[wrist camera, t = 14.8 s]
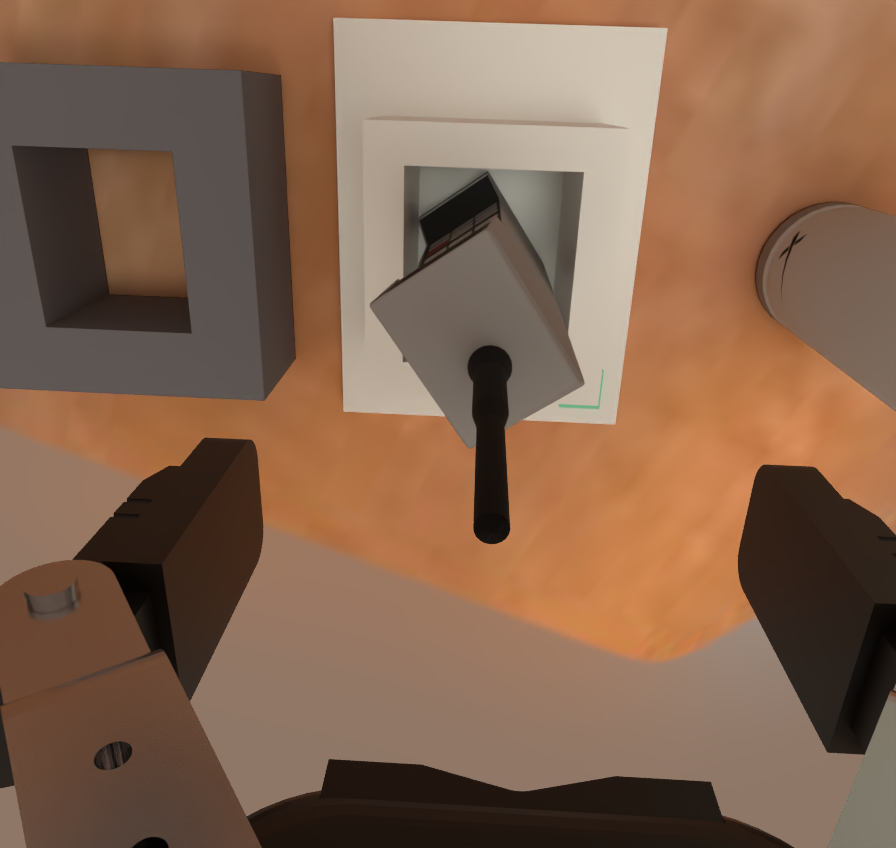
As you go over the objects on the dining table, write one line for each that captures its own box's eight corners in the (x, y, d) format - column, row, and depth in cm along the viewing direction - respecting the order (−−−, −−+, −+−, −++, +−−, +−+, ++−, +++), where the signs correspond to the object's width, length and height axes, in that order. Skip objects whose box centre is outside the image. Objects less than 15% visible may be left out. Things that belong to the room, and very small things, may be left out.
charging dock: (339, 21, 33) (294, -4, 25) (659, 31, 32) (715, 9, 25) (348, 400, 40) (315, 473, 32) (610, 413, 40) (641, 489, 32)
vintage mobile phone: (487, 169, 34) (490, 317, 11) (543, 263, 35) (651, 568, 12) (419, 215, 35) (286, 441, 12) (476, 304, 36) (458, 660, 13)
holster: (10, 66, 34) (-81, 59, 29) (280, 75, 34) (240, 70, 28) (61, 347, 40) (-7, 387, 34) (295, 358, 39) (264, 400, 34)
